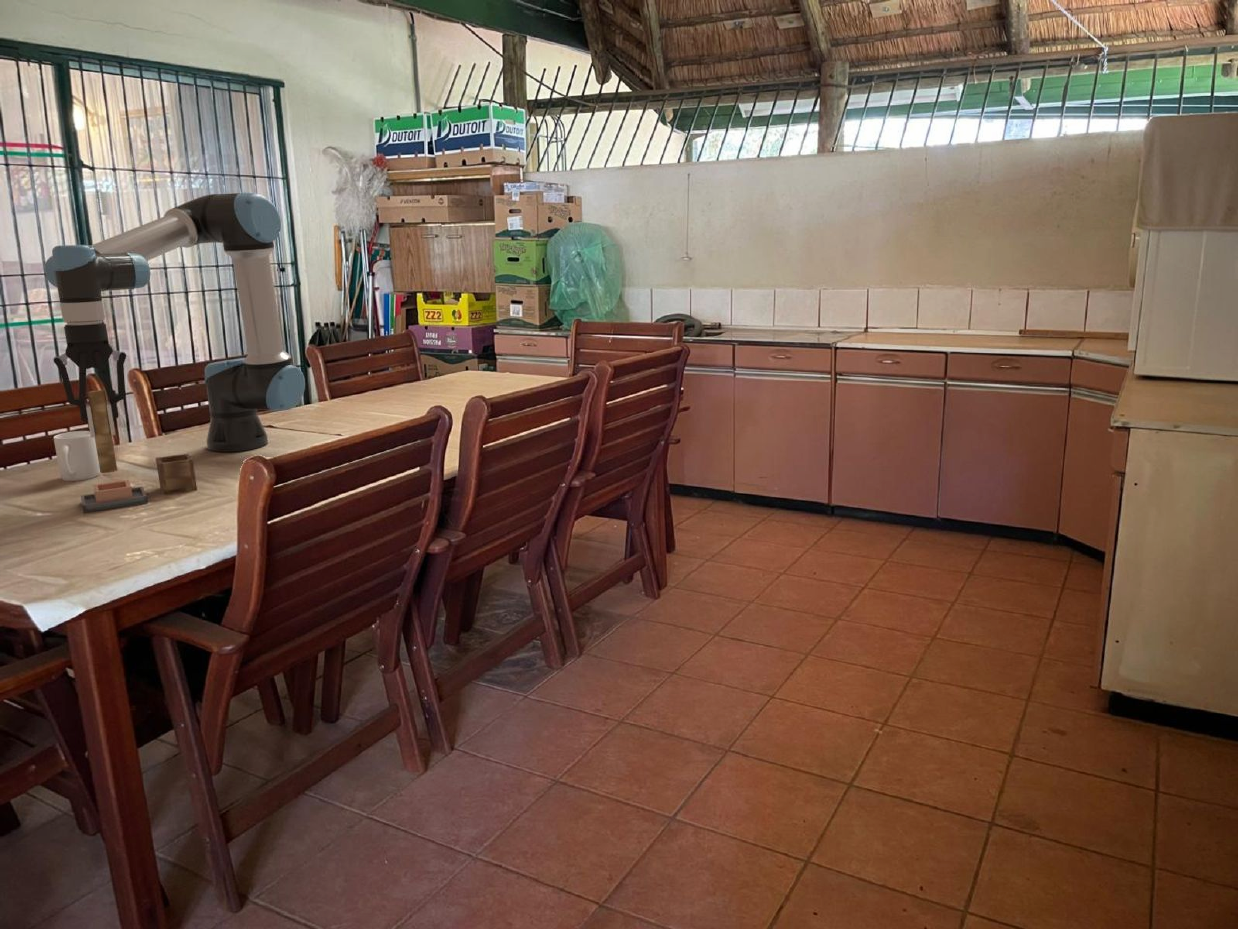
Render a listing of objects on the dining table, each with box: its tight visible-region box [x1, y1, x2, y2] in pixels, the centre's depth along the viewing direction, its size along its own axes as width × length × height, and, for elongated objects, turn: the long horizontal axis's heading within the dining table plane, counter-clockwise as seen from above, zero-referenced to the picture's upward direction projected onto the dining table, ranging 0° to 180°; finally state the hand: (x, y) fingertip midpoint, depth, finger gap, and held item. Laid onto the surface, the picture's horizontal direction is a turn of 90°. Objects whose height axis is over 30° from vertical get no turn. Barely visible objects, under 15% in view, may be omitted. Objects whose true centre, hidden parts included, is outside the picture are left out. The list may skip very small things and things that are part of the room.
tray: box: [80, 486, 149, 514], centre depth 197 cm, size 12×9×2 cm
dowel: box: [86, 389, 118, 474], centre depth 194 cm, size 3×3×17 cm
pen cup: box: [155, 453, 198, 495], centre depth 207 cm, size 7×7×7 cm
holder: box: [92, 479, 133, 503], centre depth 197 cm, size 7×7×3 cm
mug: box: [53, 430, 101, 482], centre depth 217 cm, size 12×8×10 cm
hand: (103, 434), depth 194 cm, fingers closed on dowel, 3 cm apart
